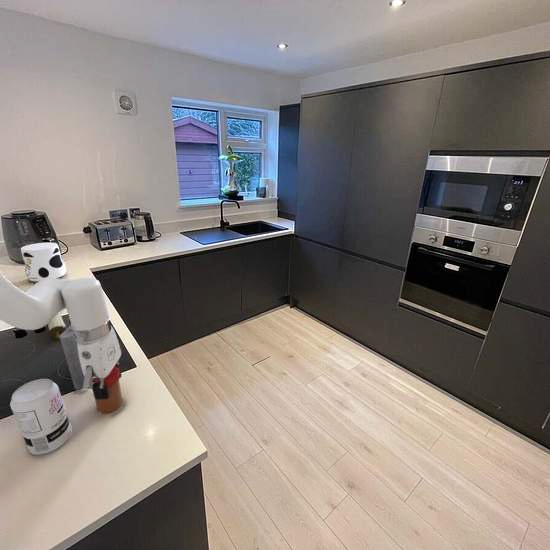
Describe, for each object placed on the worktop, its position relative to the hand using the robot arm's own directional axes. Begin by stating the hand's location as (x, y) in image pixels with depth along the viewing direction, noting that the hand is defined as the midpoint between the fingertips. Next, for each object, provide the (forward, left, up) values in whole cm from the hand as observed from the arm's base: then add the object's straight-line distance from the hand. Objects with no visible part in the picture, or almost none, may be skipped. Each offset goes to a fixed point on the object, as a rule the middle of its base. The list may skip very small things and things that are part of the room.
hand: (109, 387), depth 75 cm
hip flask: (-13, +14, -6) cm, 20 cm away
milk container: (-72, +91, -6) cm, 116 cm away
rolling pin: (-39, +43, -6) cm, 58 cm away
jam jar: (-1, 0, -6) cm, 6 cm away
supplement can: (-10, -10, -6) cm, 15 cm away
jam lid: (0, 0, +4) cm, 4 cm away
